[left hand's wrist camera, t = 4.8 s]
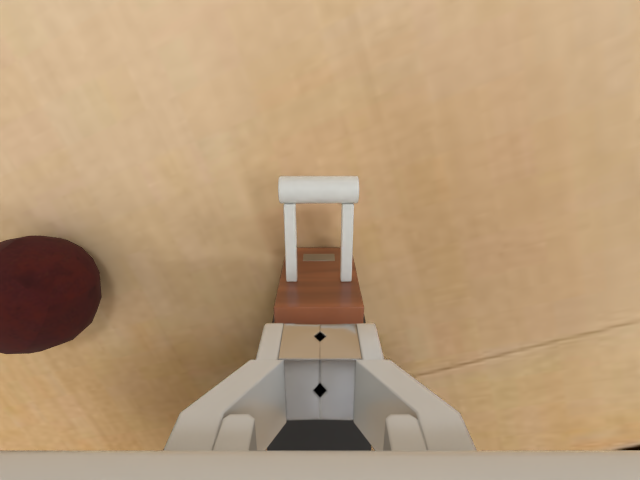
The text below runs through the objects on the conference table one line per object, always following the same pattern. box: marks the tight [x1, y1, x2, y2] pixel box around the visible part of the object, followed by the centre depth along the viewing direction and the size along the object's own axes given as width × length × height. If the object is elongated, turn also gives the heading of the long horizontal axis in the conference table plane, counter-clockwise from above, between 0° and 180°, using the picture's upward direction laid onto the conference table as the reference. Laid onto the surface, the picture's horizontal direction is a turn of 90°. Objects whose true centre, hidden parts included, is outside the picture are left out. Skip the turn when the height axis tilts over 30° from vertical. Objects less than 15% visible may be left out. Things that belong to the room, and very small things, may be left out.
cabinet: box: [267, 317, 371, 451], centre depth 26 cm, size 18×6×10 cm, turn 0°
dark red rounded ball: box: [0, 236, 101, 354], centre depth 24 cm, size 7×8×7 cm
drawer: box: [274, 176, 364, 325], centre depth 24 cm, size 22×4×8 cm, turn 0°
